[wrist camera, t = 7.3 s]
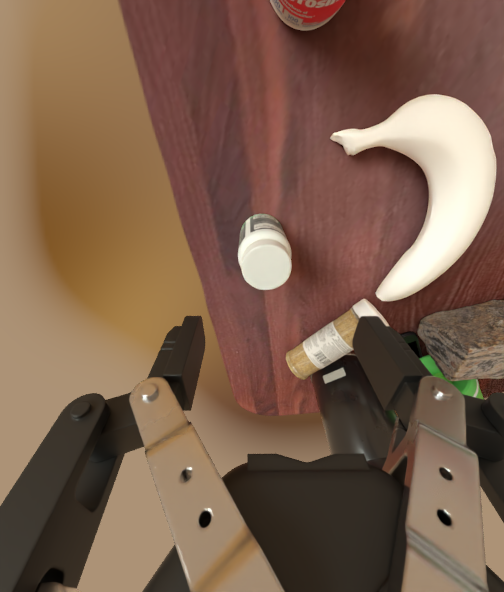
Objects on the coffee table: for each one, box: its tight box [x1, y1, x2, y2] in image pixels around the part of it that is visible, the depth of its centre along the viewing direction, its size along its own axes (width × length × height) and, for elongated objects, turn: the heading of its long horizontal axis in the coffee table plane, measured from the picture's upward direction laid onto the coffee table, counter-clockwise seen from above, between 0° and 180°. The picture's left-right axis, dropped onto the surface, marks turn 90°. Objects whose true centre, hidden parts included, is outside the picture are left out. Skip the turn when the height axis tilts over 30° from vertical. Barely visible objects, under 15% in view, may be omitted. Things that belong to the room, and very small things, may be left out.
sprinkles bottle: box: [286, 299, 389, 380], centre depth 30 cm, size 5×5×13 cm
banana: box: [330, 94, 496, 301], centre depth 22 cm, size 5×19×15 cm
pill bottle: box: [238, 214, 292, 290], centre depth 21 cm, size 5×5×8 cm
